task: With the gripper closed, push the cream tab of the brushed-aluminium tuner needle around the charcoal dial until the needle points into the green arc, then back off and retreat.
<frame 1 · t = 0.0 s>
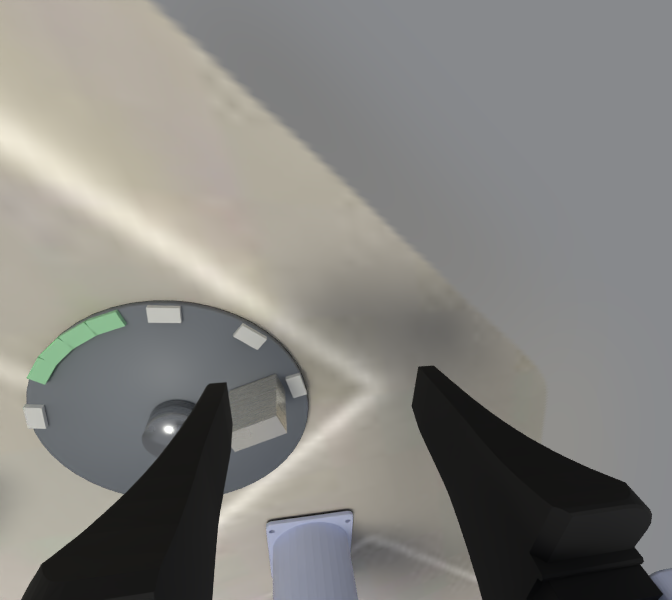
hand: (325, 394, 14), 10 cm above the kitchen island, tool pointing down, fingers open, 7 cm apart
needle: (213, 426, 24), point 3 cm above the kitchen island, hinge at -70.0°
dial: (180, 412, 26), on the kitchen island
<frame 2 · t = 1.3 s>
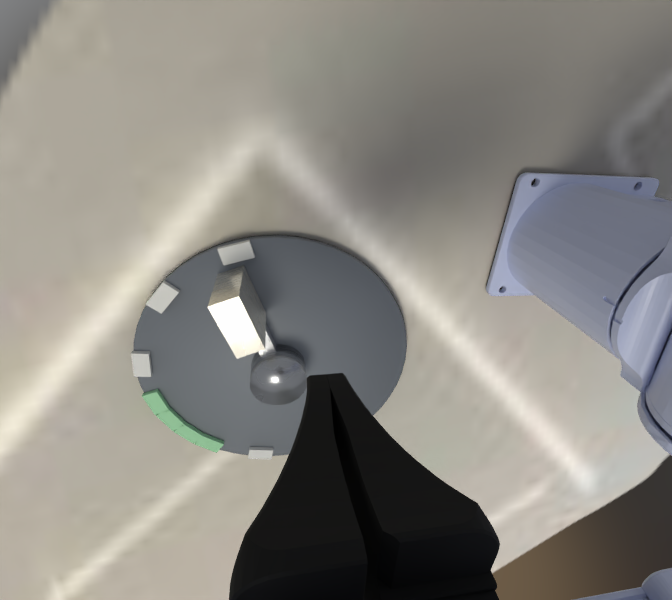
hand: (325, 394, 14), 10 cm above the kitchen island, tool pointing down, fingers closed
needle: (261, 350, 22), point 3 cm above the kitchen island, hinge at -70.0°
dial: (278, 359, 26), on the kitchen island
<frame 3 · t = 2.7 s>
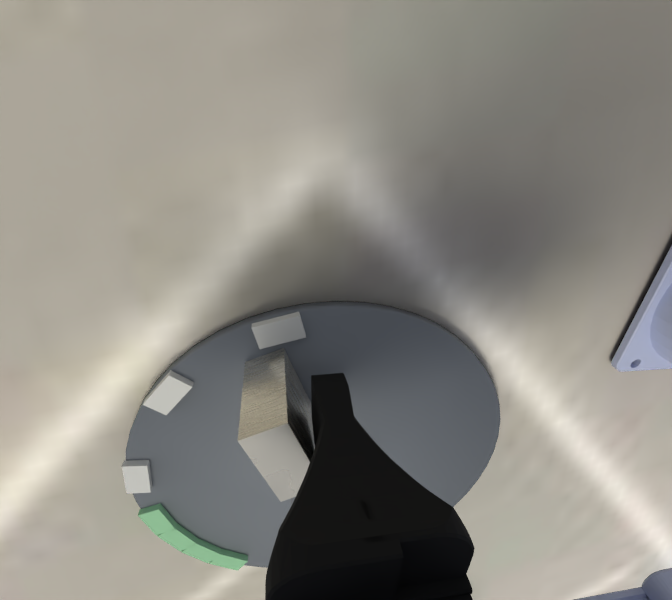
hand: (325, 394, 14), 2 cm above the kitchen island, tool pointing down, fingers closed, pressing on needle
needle: (310, 468, 15), point 3 cm above the kitchen island, hinge at -68.5°, touching gripper
dial: (324, 456, 19), on the kitchen island
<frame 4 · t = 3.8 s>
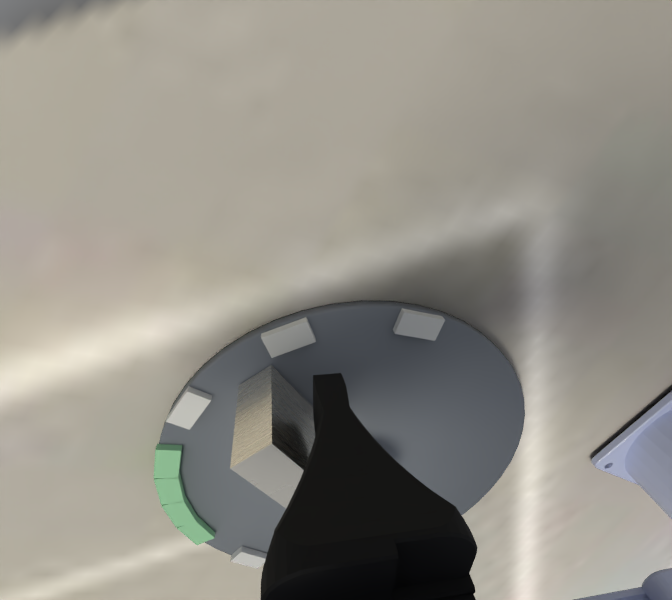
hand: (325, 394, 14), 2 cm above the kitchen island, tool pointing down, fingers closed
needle: (325, 473, 15), point 3 cm above the kitchen island, hinge at -25.6°, touching gripper
dial: (350, 455, 19), on the kitchen island
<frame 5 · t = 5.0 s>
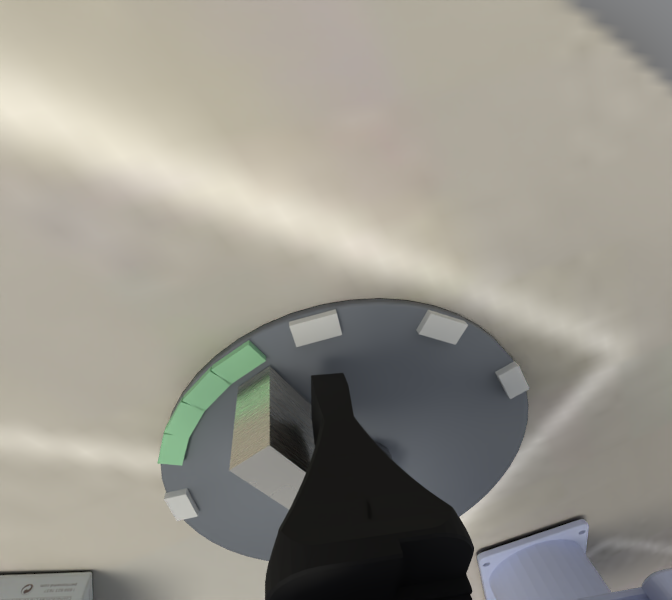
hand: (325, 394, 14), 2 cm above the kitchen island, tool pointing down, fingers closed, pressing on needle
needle: (327, 472, 15), point 3 cm above the kitchen island, hinge at 17.4°, touching gripper
dial: (353, 453, 19), on the kitchen island
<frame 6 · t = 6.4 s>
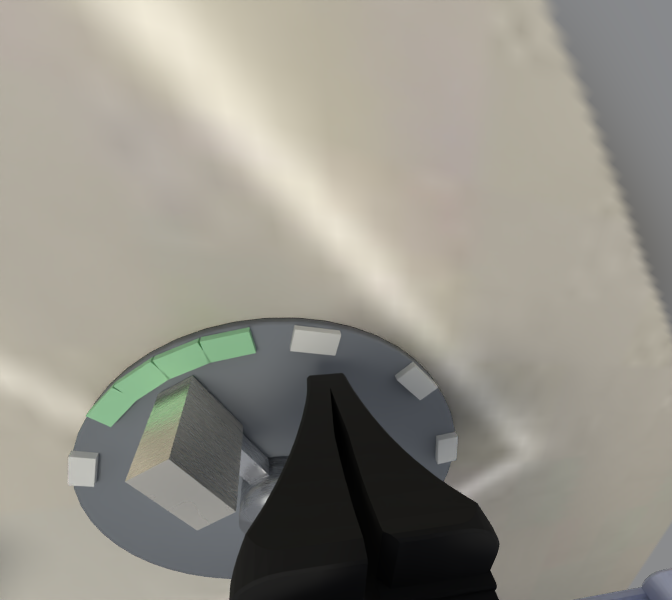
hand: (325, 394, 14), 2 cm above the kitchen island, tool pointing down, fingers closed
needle: (242, 489, 15), point 3 cm above the kitchen island, hinge at 36.1°
dial: (279, 469, 19), on the kitchen island
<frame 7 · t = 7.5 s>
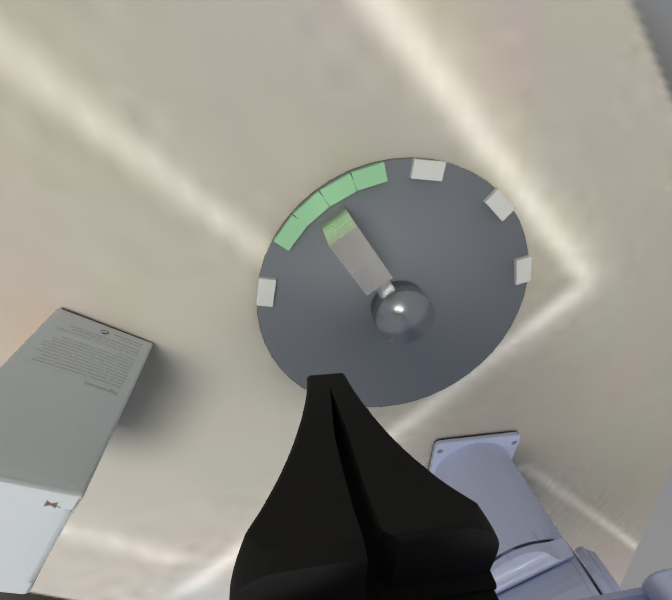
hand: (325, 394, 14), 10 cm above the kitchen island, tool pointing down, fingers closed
small box: (89, 368, 24), on the kitchen island
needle: (382, 287, 21), point 3 cm above the kitchen island, hinge at 36.2°
dial: (394, 300, 25), on the kitchen island
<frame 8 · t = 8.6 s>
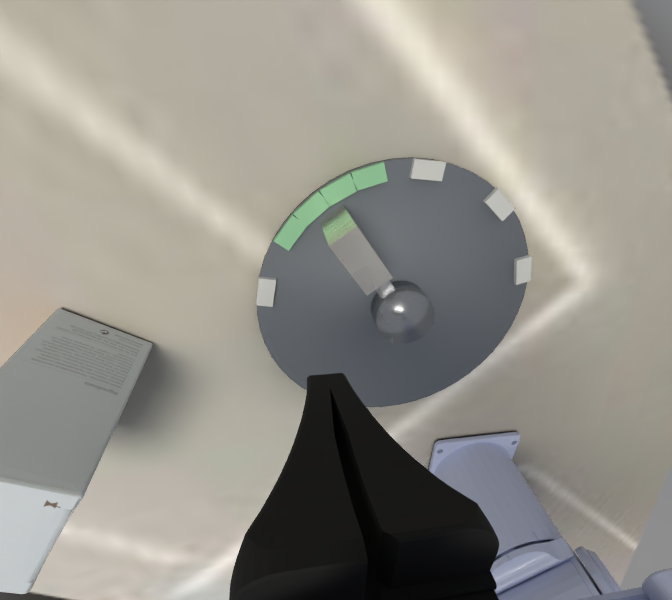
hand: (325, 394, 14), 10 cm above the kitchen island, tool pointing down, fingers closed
small box: (89, 368, 24), on the kitchen island
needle: (382, 287, 21), point 3 cm above the kitchen island, hinge at 36.2°
dial: (394, 300, 25), on the kitchen island
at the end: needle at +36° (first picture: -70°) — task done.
